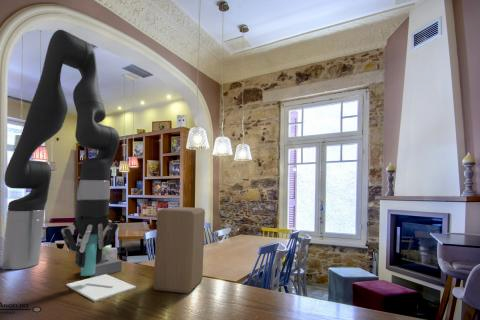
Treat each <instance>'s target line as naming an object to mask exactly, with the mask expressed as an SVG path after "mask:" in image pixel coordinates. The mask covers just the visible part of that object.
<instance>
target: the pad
mask: <svg viewBox="0 0 480 320" xmlns="http://www.w3.org/2000/svg"><path fill="white" fill-rule="evenodd" d="M66 287H67V288H69V289H71V290H73V291H75V292H77V293H78V294H80V295H82V296H84V297H85V298H87V299H89V300H90V301H93V302H99V301H101V300H104V299H106V298H107V299H108V298H111V297H114V296H117V295H119V294H123V293H126V292H129V291H132V290H135V289H137V286H136V285H133V284H131V283H128V282H126V281H123V280H120V278H116V277H113V276H111V275H110V274H104V275H100V276H96V277H89V278H85V279H82V280H77V281H74V282H70V283H66Z"/></svg>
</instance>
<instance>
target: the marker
mask: <svg viewBox="0 0 480 320" xmlns="http://www.w3.org/2000/svg"><path fill="white" fill-rule="evenodd" d="M97 242H98V234H91V235H90V236H89V240H88V242H87V244H86V247H85V251H84V252H85V263H84V267H83V268H80V276H82V277H88V276H89V275H93V274H95V268H96V255H97ZM89 277H90V276H89Z"/></svg>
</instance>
